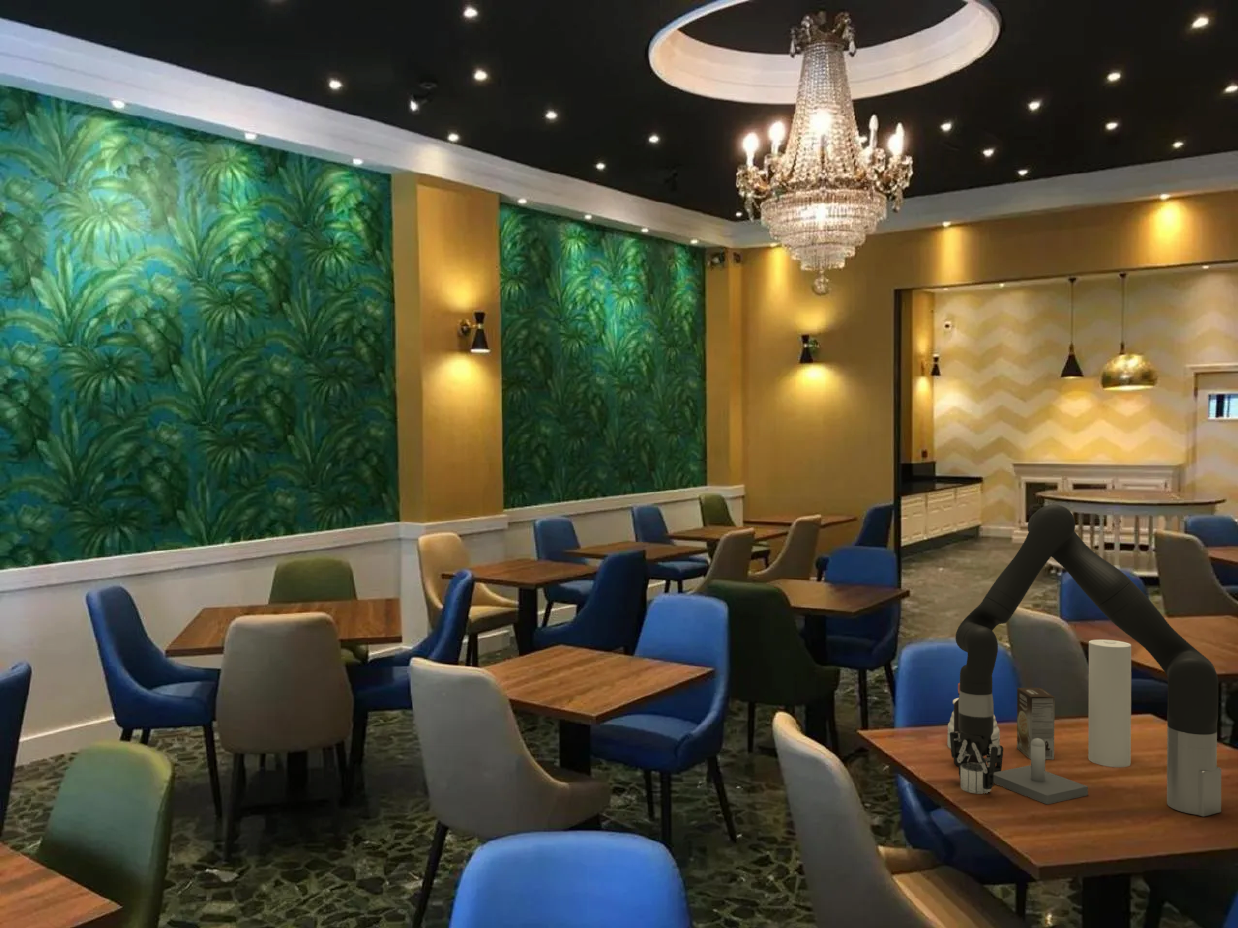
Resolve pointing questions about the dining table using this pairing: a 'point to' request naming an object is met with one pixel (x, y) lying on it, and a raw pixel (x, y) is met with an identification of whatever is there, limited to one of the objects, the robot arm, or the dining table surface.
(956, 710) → the bottle
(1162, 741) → the dining table surface
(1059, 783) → the piston block
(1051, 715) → the coffee box
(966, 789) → the ring
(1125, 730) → the cylinder container
